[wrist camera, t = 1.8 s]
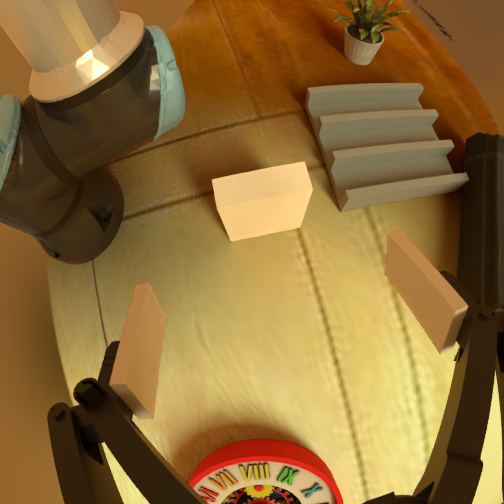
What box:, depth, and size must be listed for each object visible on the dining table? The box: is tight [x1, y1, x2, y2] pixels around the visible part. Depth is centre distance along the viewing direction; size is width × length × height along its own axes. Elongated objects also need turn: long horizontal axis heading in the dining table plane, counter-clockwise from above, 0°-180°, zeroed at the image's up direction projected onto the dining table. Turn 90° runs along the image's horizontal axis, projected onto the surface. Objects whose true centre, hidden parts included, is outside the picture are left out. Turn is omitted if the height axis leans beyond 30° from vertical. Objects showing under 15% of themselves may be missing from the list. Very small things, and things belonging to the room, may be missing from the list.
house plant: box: [328, 0, 413, 65], centre depth 39 cm, size 14×14×16 cm
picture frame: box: [212, 162, 313, 242], centre depth 35 cm, size 3×9×12 cm, turn 101°
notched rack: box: [305, 83, 469, 212], centre depth 40 cm, size 18×20×4 cm
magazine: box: [457, 132, 504, 312], centre depth 34 cm, size 17×3×30 cm
